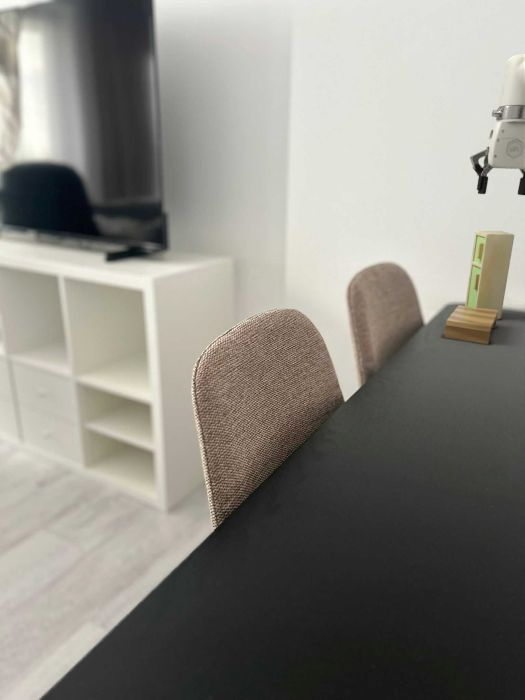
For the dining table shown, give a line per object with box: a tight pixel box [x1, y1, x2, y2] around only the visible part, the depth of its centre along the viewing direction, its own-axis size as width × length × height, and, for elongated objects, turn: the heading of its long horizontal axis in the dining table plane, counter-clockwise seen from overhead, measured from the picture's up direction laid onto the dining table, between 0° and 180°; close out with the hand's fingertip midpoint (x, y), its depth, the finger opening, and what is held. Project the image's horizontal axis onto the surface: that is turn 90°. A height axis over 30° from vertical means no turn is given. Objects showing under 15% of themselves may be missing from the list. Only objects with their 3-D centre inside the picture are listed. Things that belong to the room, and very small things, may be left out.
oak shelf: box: [443, 304, 498, 345], centre depth 117 cm, size 16×9×4 cm, turn 151°
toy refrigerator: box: [464, 230, 515, 320], centre depth 129 cm, size 8×7×21 cm
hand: (501, 194), depth 123 cm, fingers open, 9 cm apart
